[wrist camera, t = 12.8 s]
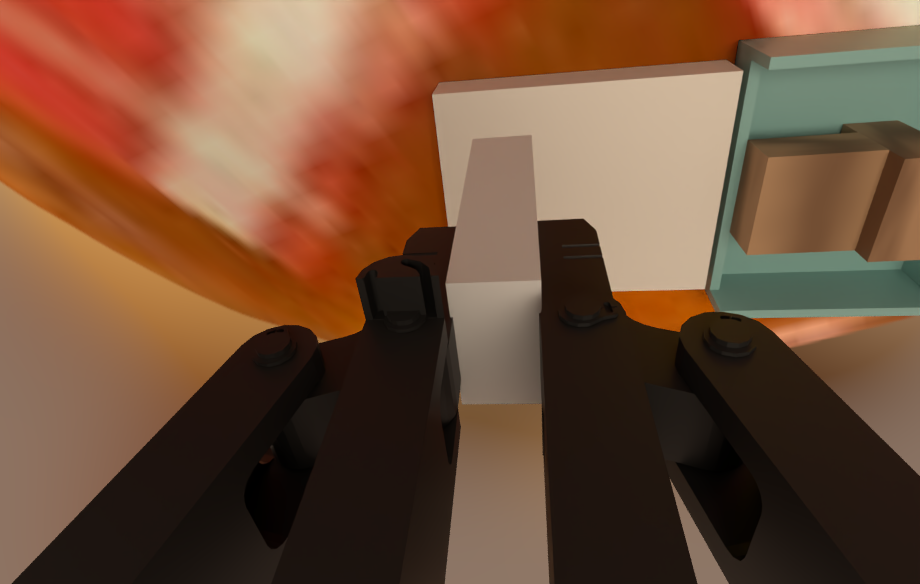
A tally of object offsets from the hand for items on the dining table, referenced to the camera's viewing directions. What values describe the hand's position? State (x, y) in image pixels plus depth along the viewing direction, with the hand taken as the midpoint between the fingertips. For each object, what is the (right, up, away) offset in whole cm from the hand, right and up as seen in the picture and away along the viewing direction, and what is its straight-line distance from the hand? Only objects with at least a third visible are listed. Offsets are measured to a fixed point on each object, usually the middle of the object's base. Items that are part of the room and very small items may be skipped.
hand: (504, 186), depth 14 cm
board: (+7, +5, +22) cm, 24 cm away
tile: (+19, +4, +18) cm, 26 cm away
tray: (+22, +5, +20) cm, 30 cm away
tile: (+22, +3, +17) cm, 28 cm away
